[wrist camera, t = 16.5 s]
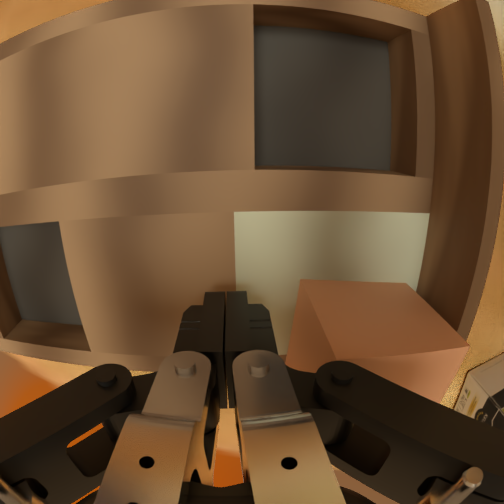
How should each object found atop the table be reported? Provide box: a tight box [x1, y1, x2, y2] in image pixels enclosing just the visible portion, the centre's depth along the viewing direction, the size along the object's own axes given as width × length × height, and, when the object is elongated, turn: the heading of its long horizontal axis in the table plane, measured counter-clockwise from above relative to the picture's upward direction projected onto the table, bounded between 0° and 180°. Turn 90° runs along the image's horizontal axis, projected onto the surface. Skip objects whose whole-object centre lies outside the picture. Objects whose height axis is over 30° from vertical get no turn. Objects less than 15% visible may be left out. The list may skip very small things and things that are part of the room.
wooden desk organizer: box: [0, 0, 504, 372], centre depth 10 cm, size 24×16×6 cm
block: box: [285, 279, 470, 403], centre depth 11 cm, size 5×5×5 cm
